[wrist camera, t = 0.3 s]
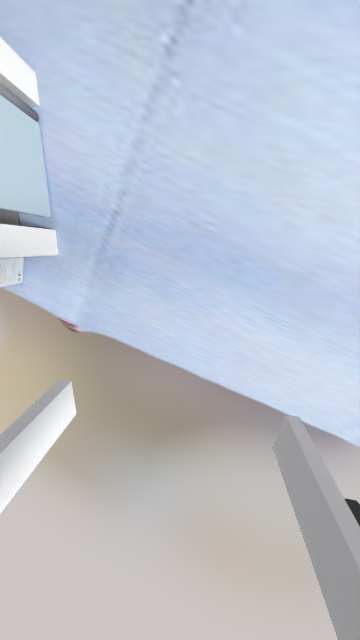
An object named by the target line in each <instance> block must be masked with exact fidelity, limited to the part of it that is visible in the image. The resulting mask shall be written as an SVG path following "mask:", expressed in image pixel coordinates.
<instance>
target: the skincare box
mask: <svg viewBox="0 0 360 640" xmlns="http://www.w3.org/2000/svg"><path fill="white" fill-rule="evenodd" d="M23 269H24V257H11V258H0V287H4V286H9V285H14V284H18V283H22V282H23Z"/></svg>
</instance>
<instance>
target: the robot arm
mask: <svg viewBox="0 0 360 640" xmlns="http://www.w3.org/2000/svg"><path fill="white" fill-rule="evenodd" d="M75 415H76V409H75V402H74V396H73V390H72V383H71V381H66V380H59V381H58V382H57V383H56V384H55V385H53V386H52V387H51V388H50V389H49V390H48V391H47V392H46V393H45V394H44V395H43V396H42V397H41V398H40V399H38V400H37V401H36V402H35V403H34V404H33V405H32V406H31V407H30V408H29V409H28V410H27V411H26V412H24V413H23V414H22V415H21V416H20V417H19V418H18V419H17V420H16V421H15V422H14V423H13V424H11V425H10V427H8V428H7V429H6V430H5V431H4V432H3V433H2V434H1V435H0V513H1V512H2V511H3V509H4V508H5V507H6V505H7V504H8V503H9V501H10V500H11V499H12V498H13V496H14V495H15V494H16V492H17V491H18V490H19V488H20V487H21V486H22V484H23V483H24V482H25V480H26V479H27V478H28V476H29V475H30V474H31V473H32V471H33V470H34V469H35V467H36V466H37V465H38V463H39V462H40V461H41V459H42V458H43V457H44V455H45V454H46V453H47V452H48V450H49V449H50V447H51V446H52V445H53V444H54V442H55V441H56V440H57V438H58V437H59V436H60V434H61V433H62V432H63V430H64V429H65V428H66V427H67V425H68V424H69V423H70V421H71V420H72V419H73V417H74V416H75ZM273 449H274V452H275V454H276V458H277V461H278V464H279V467H280V470H281V473H282V476H283V479H284V482H285V485H286V488H287V491H288V493H289V496H290V499H291V502H292V505H293V508H294V511H295V514H296V517H297V520H298V523H299V526H300V529H301V532H302V535H303V538H304V541H305V543H306V546H307V549H308V552H309V555H310V558H311V561H312V564H313V567H314V570H315V573H316V576H317V579H318V582H319V585H320V587H321V591H322V594H323V597H324V600H325V602H326V605H327V608H328V611H329V614H330V617H331V620H332V623H333V626H334V629H335V632H336V635H337V637H338V640H360V504H359V503H358V502H357V501H355V500H350V499H345V498H344V497H343V496H342V494H341V492H340V490H339V488H338V487H337V485H336V483H335V481H334V479H333V478H332V476H331V474H330V472H329V470H328V468H327V467H326V465H325V463H324V461H323V459H322V458H321V456H320V454H319V452H318V450H317V449H316V447H315V445H314V443H313V441H312V439H311V438H310V436H309V434H308V432H307V430H306V429H305V427H304V425H303V423H302V421H301V419H300V418H299V417H296V416H289V415H285V417H284V420H283V422H282V425H281V427H280V430H279V433H278V435H277V438H276V440H275V443H274V446H273Z"/></svg>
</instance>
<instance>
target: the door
mask: <svg viewBox="0 0 360 640" xmlns="http://www.w3.org/2000/svg"><path fill="white" fill-rule="evenodd" d="M38 119H39V118H38V114H37V112H36V111H35V110H33V109H32V108H31V107H30V106H28V105H27V104H26V103H25V102H23V101H22V100H21V99H20V98H18V97H17V96H16V95H15V94H14V93H12V92H11V91H10V90H9V89H7V88H6V87H5V86H4V85H2V84H1V83H0V209H5V210H10V211H15V212H21V213H26V214H31V215H37V216H42V217H51V218H52V216H51V209H50V201H49V194H48V186H47V178H46V171H45V163H44V155H43V148H42V140H41V133H40V125H39V123H38Z"/></svg>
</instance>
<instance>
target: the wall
mask: <svg viewBox="0 0 360 640" xmlns="http://www.w3.org/2000/svg"><path fill="white" fill-rule="evenodd" d="M0 83H1V84H2V85H4V86H5V87H6V88H7V89H9V90H10V91H11V92H12V93H14V94H15V95H16V96H17V97H18V98H20V99H21V100H22V101H23V102H25V103H26V104H27V105H28V106H40V105H39V97H38V89H37V81H36V74H35V72H34V71H33V70H32V69H31V68H30V67H29V66H28V65H27V64H26V63H25V62H24V61H23V60H22V59H21V58H20V57H19V56H18V55H17V54H16V53H15V52H14V51H13V50H12V49H11V48H10V47H9V46H8V45H7V44H6V43H5V42H4V40H3V39H2V38H1V37H0ZM48 255H59V254H58V246H57V238H56V230H51V229H42V228H33V227H25V226H16V225H7V224H0V258H11V257H29V256H48Z"/></svg>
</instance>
